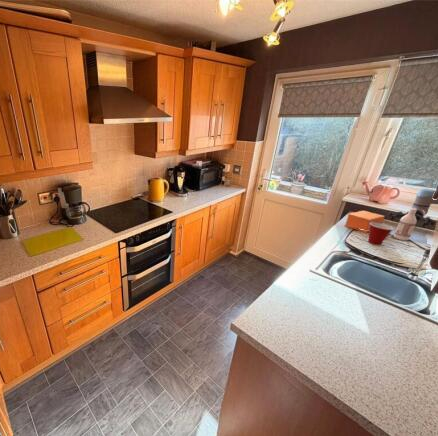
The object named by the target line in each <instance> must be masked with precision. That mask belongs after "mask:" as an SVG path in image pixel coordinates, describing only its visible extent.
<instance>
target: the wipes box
mask: <svg viewBox="0 0 438 436" xmlns="http://www.w3.org/2000/svg"><path fill="white" fill-rule="evenodd" d="M384 219H385V217H383V218H379V219H375V220H370V221H368V220H365V219H361V218H358V217H354V216H351V215H347V218H346V222H345V225H344V227H348V228H350V229H354V230H357V231H359V232H363V233H369V232H370V223H380V224H383V223H384ZM357 228H360V229H364V230H369V231H364V230H360V229H357Z"/></svg>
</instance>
